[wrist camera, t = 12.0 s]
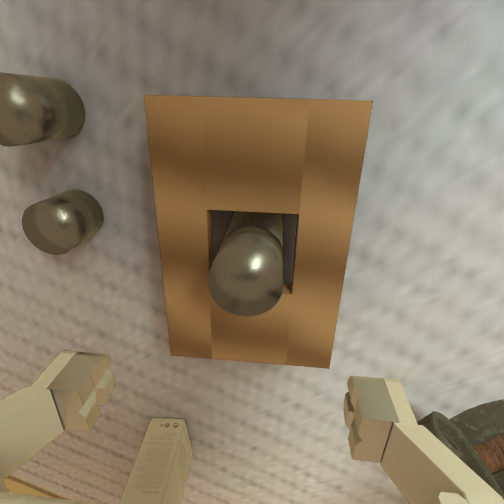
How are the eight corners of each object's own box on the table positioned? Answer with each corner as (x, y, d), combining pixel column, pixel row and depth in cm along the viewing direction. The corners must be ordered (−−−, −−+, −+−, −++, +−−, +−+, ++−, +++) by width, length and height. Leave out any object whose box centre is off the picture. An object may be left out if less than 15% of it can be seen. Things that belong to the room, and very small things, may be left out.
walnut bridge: (177, 97, 23) (143, 95, 17) (350, 101, 22) (372, 100, 16) (191, 310, 30) (170, 355, 25) (320, 319, 29) (329, 368, 24)
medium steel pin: (25, 78, 23) (-46, 70, 18) (79, 79, 23) (22, 71, 18) (39, 137, 25) (-22, 145, 20) (89, 138, 24) (40, 147, 19)
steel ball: (52, 188, 26) (15, 201, 23) (98, 190, 26) (69, 204, 23) (63, 234, 28) (30, 253, 24) (107, 236, 28) (80, 255, 24)
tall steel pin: (233, 196, 25) (206, 248, 16) (284, 199, 25) (285, 253, 16) (233, 243, 27) (208, 313, 18) (281, 246, 27) (280, 319, 18)
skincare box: (150, 416, 37) (94, 548, 26) (188, 417, 36) (147, 552, 25) (161, 452, 39) (114, 586, 28) (196, 453, 39) (162, 590, 28)
